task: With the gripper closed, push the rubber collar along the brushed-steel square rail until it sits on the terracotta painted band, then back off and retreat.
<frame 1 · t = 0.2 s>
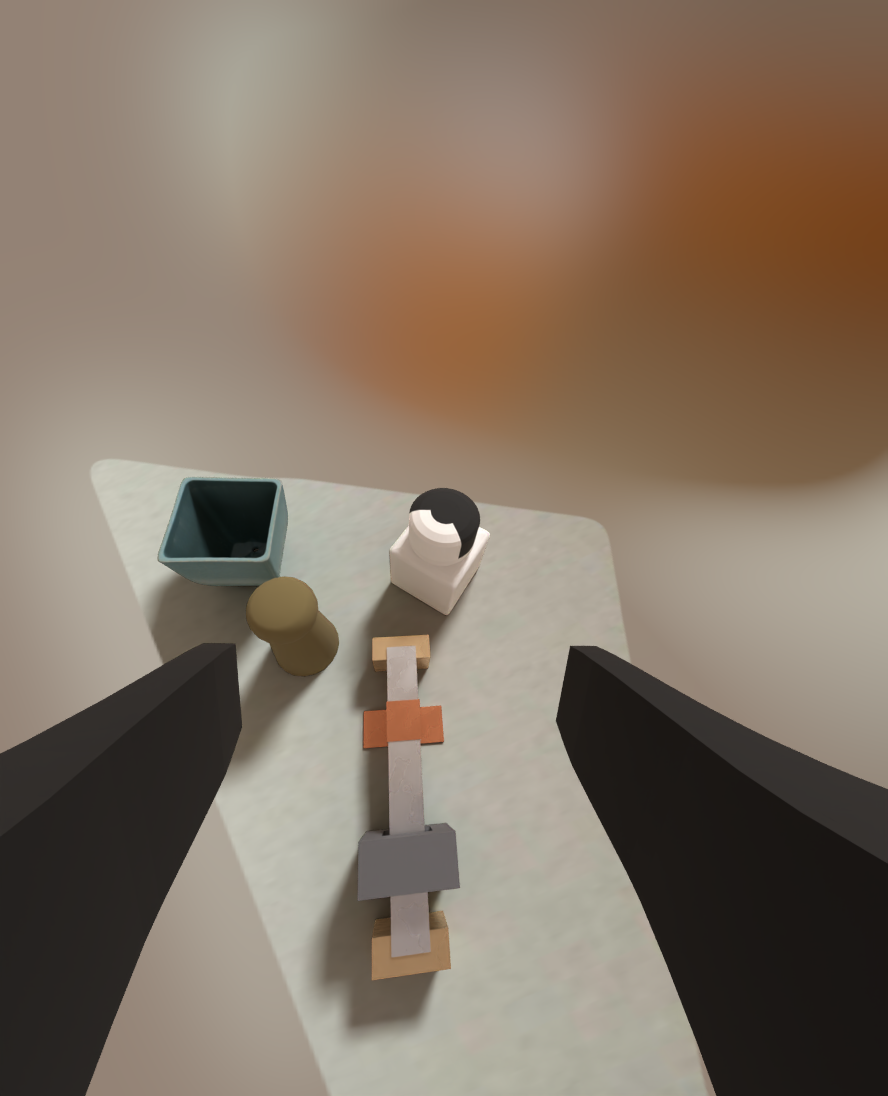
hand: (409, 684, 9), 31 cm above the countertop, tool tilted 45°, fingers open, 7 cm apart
rail: (405, 777, 35), on the countertop
brown pawn figure: (307, 645, 40), on the countertop
collar: (407, 856, 30), point 4 cm above the countertop, slide at 0.0 cm
flower pot: (255, 564, 44), on the countertop
medicine bottle: (435, 575, 45), on the countertop
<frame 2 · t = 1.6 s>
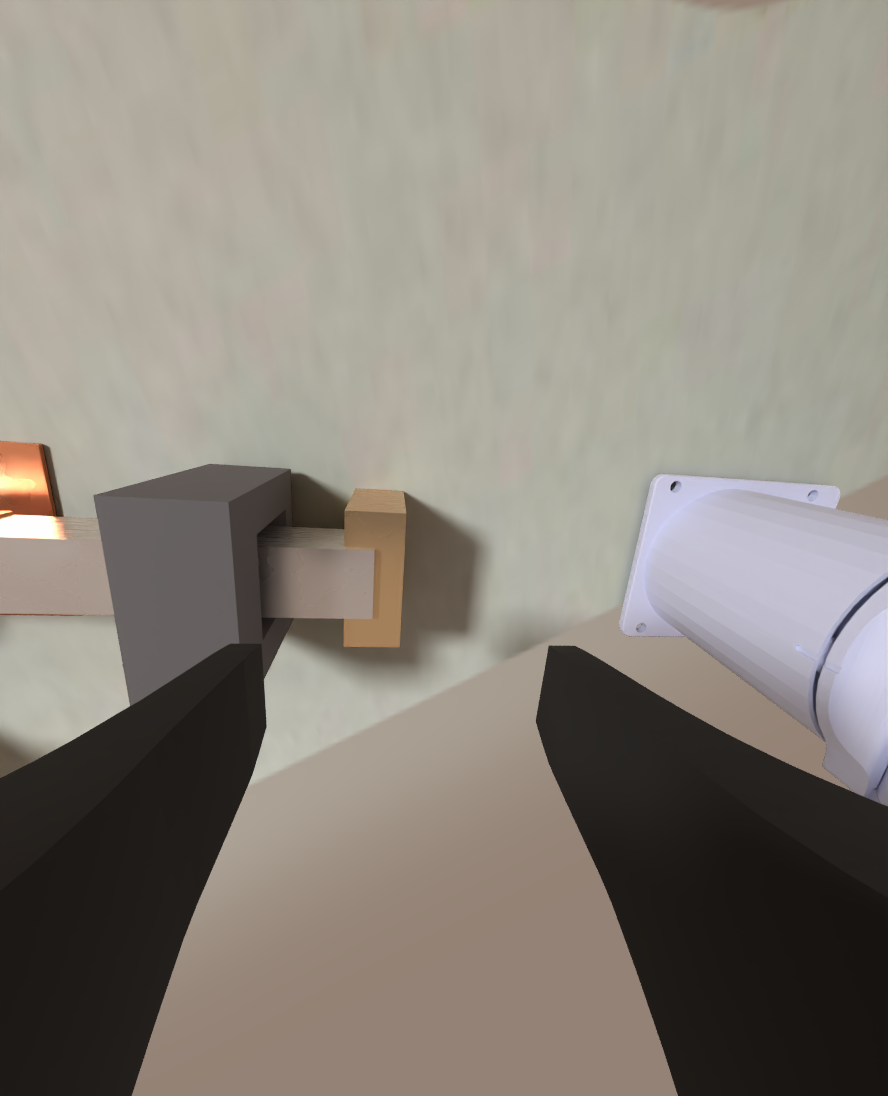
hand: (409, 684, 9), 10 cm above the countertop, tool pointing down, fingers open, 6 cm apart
rail: (129, 536, 17), on the countertop
collar: (224, 573, 14), point 4 cm above the countertop, slide at 0.0 cm
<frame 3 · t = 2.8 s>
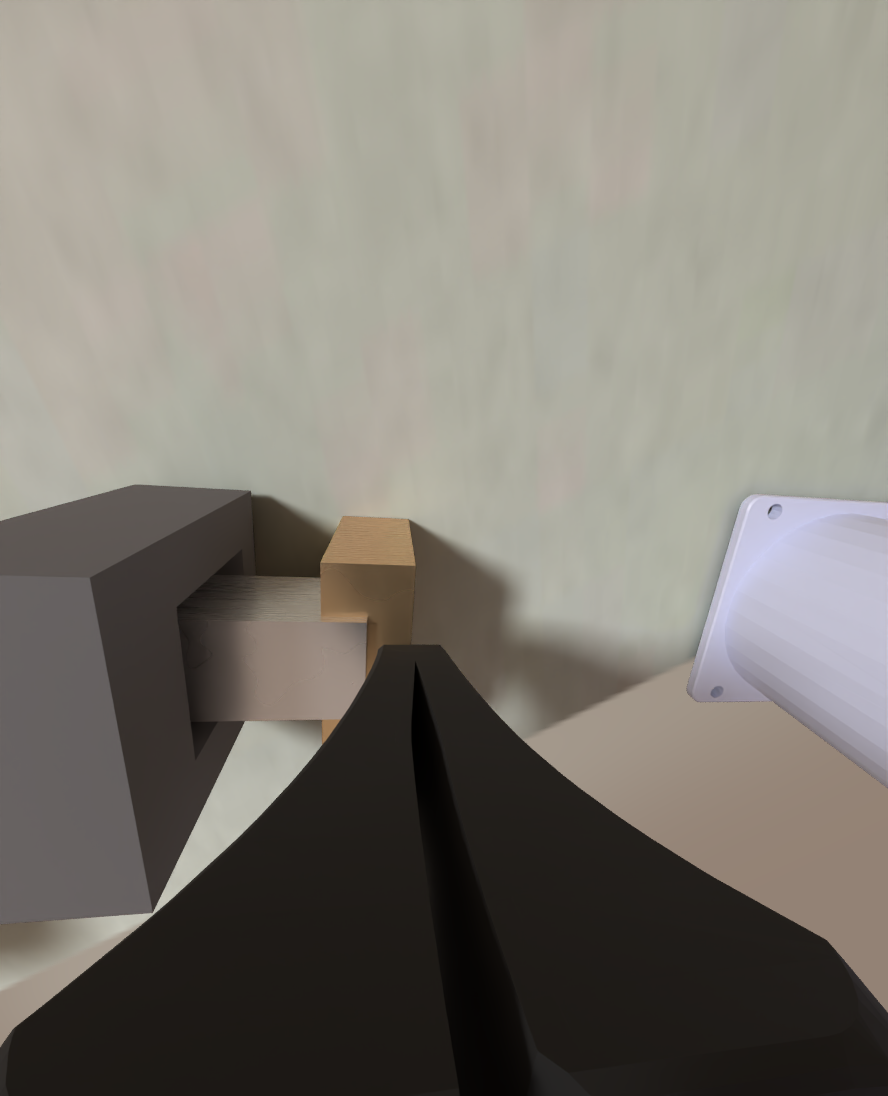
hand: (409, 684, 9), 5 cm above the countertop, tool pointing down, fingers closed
rail: (28, 584, 12), on the countertop
collar: (141, 653, 9), point 4 cm above the countertop, slide at 0.0 cm
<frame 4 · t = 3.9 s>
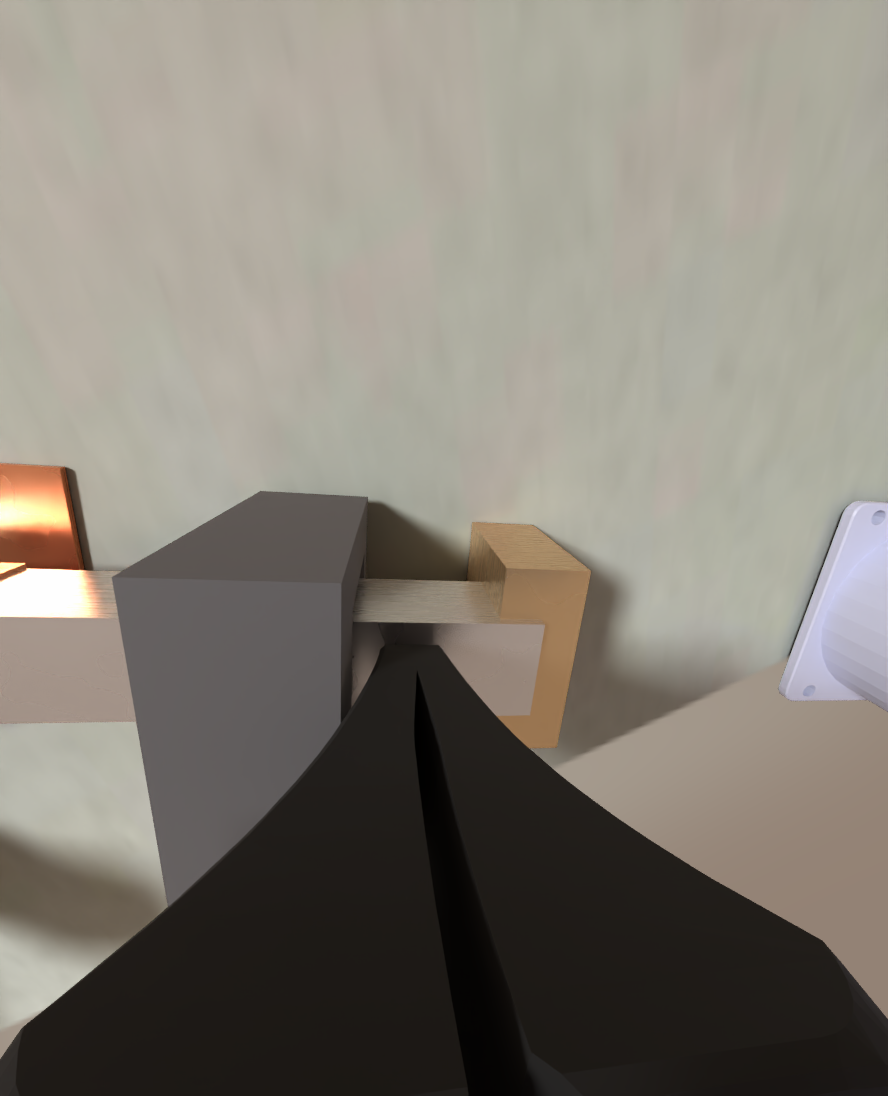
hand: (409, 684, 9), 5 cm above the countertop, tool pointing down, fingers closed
rail: (177, 587, 13), on the countertop
collar: (292, 653, 10), point 4 cm above the countertop, slide at 0.8 cm, touching gripper
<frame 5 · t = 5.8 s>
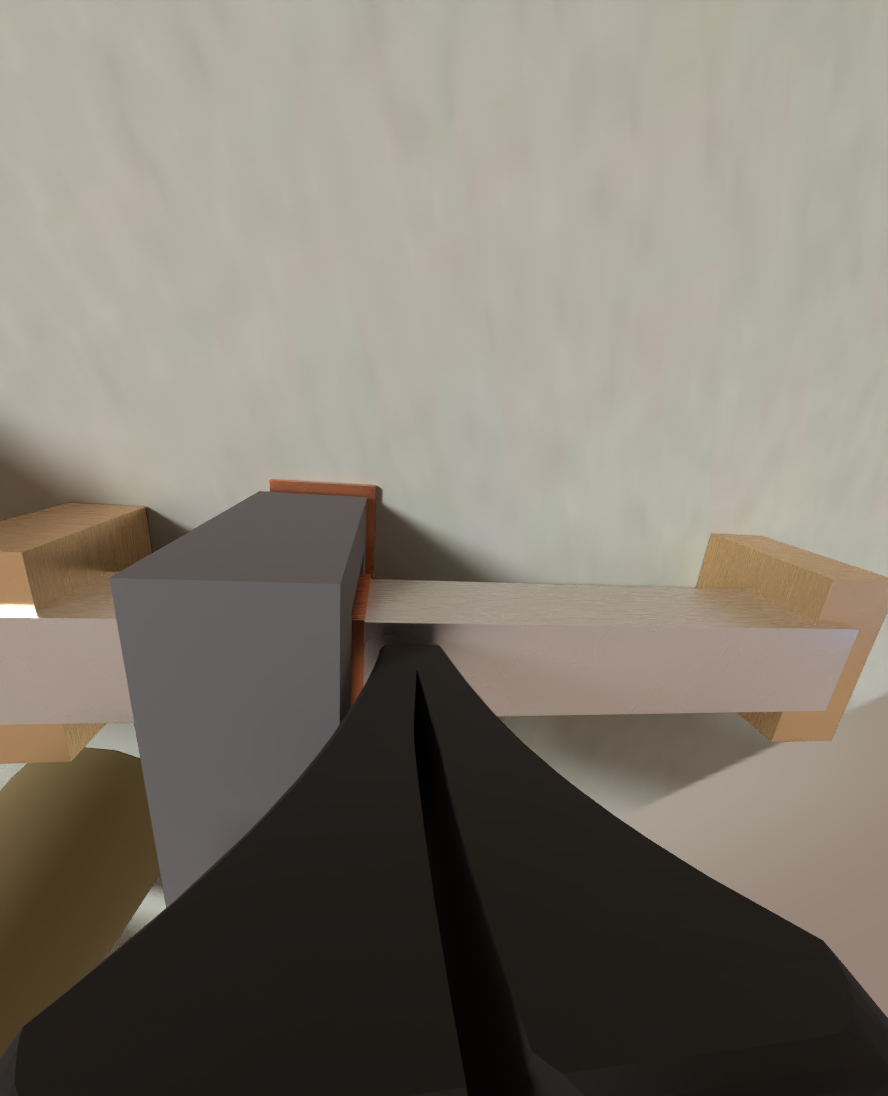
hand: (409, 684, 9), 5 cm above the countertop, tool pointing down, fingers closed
rail: (448, 594, 14), on the countertop
brown pawn figure: (101, 810, 15), on the countertop
collar: (291, 653, 10), point 4 cm above the countertop, slide at 9.2 cm, touching gripper
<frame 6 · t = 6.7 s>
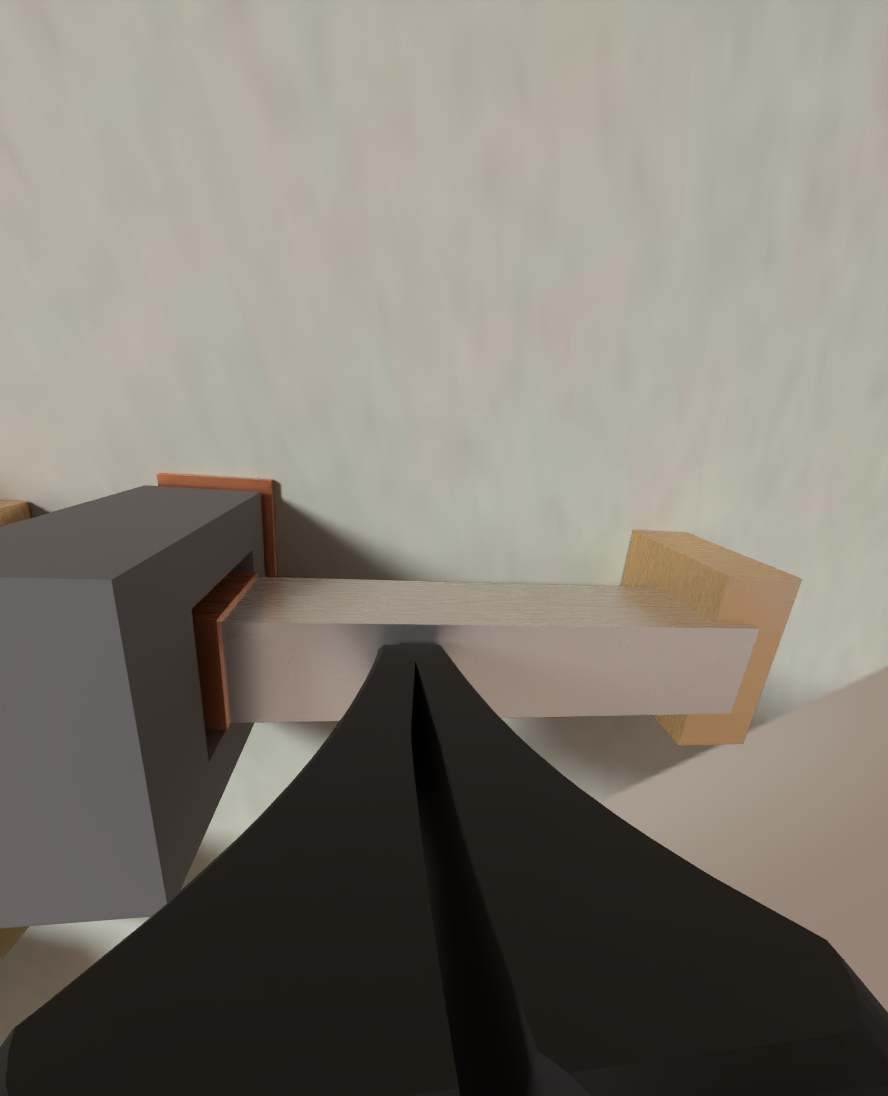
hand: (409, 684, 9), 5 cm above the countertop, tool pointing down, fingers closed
rail: (358, 592, 13), on the countertop
brown pawn figure: (8, 816, 15), on the countertop
collar: (154, 655, 9), point 4 cm above the countertop, slide at 9.2 cm
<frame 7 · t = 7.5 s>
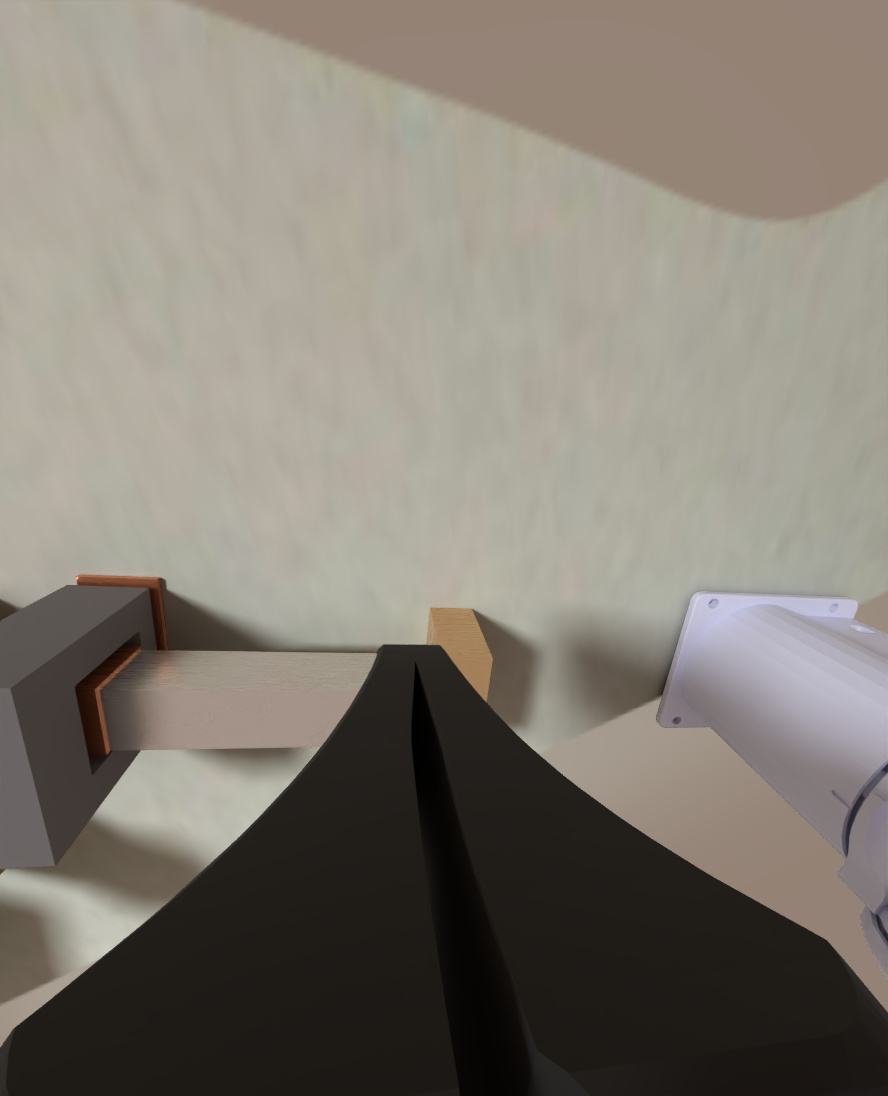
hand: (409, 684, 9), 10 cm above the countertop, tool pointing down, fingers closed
rail: (228, 651, 19), on the countertop
collar: (61, 706, 15), point 4 cm above the countertop, slide at 9.2 cm
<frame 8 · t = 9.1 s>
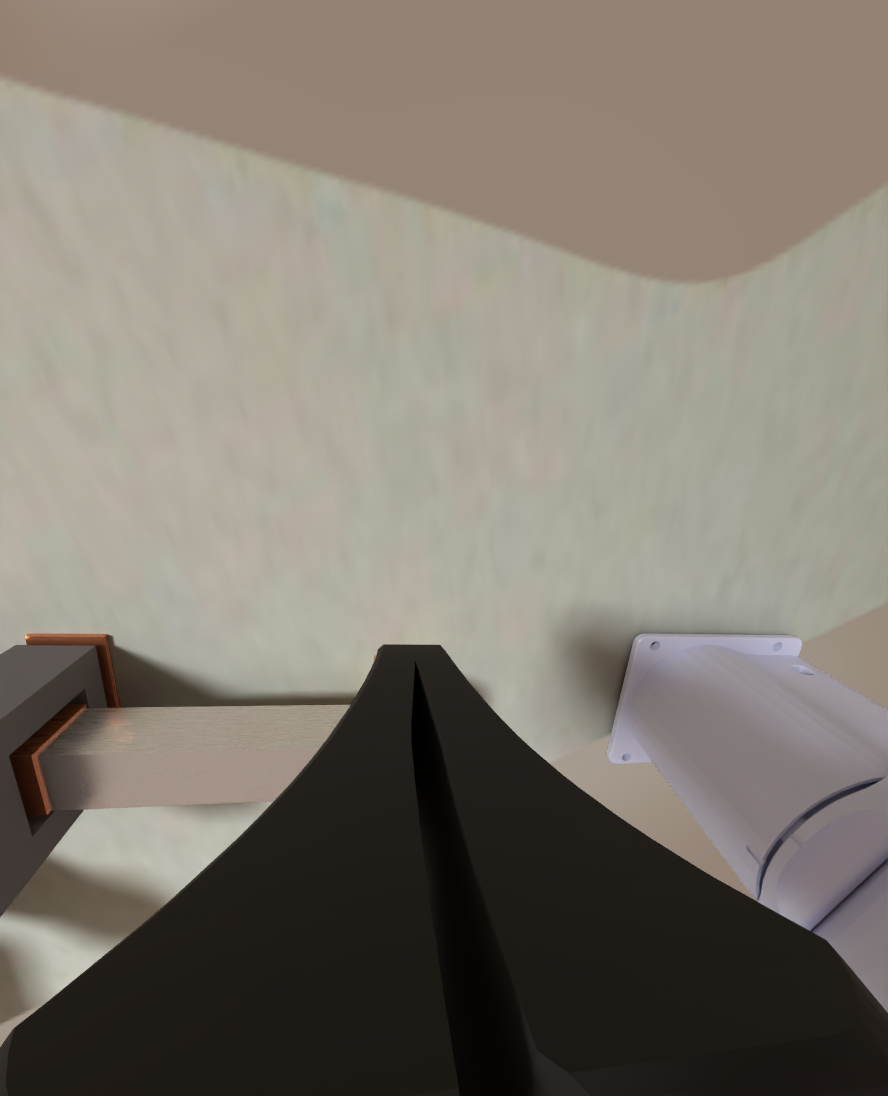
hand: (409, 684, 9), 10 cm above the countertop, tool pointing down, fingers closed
rail: (177, 701, 19), on the countertop
collar: (4, 768, 15), point 4 cm above the countertop, slide at 9.2 cm
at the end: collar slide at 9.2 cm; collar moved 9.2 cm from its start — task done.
